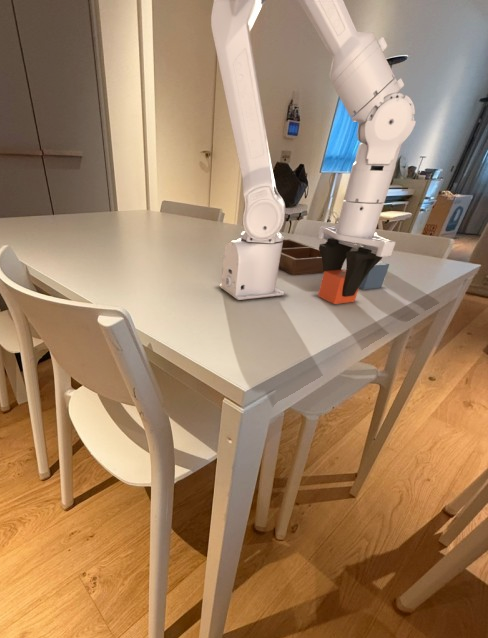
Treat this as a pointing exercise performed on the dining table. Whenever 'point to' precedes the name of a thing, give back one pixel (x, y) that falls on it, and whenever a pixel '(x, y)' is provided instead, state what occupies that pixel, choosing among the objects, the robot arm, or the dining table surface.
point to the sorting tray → (300, 258)
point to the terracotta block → (334, 287)
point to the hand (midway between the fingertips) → (338, 291)
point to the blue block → (375, 276)
